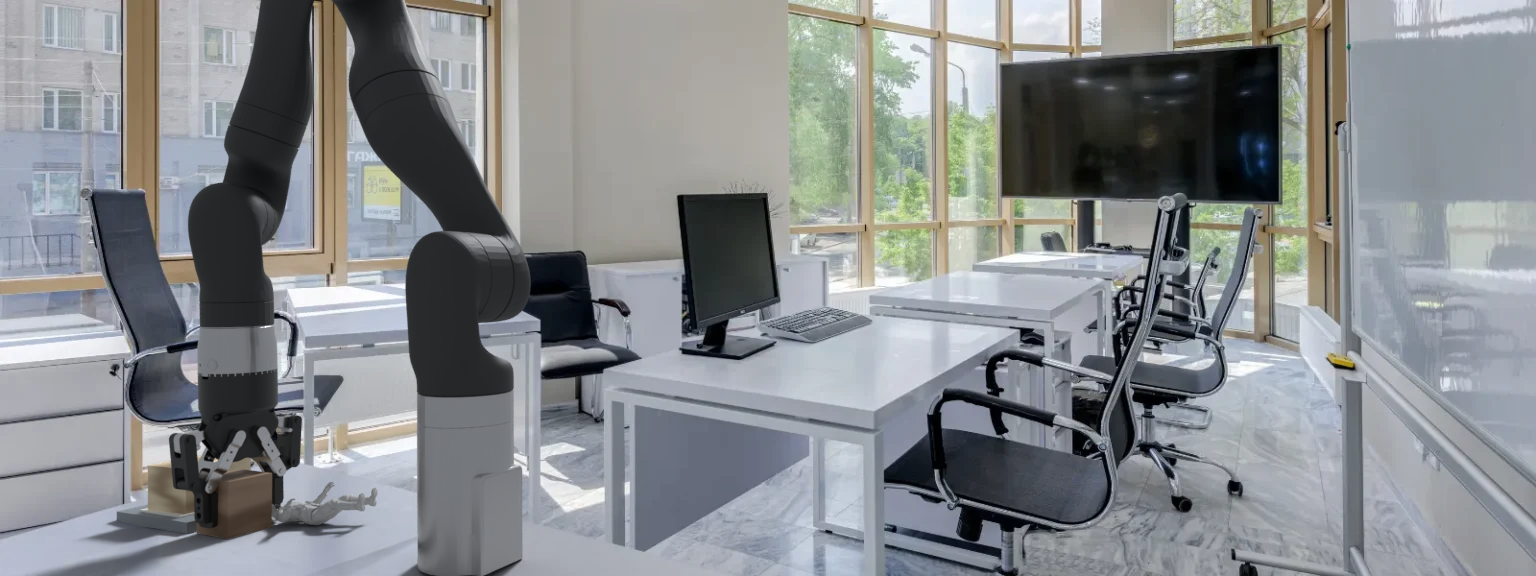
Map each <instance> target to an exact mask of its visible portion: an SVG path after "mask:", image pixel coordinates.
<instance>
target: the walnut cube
mask: <svg viewBox="0 0 1536 576" xmlns="http://www.w3.org/2000/svg"><path fill="white" fill-rule="evenodd" d="M214 492H218V525H217V526H216V527H213V528H204V527H201V526H200V525H199V523H197V531H196V534H198V535H204V536H209V537H215V538H219V539H221V538H222V539H226V540H229V539H234V538H239V537H241V536H244V535H248V534H251V533H252V534H253V533H255V532H259V531H263V530H268V529H271V528H272V527H273V526H272V523H273V522H272V473H268V472H262V471H261V470H260V471H257V470H252V469H251V470H244V469H240V470H234V471H229V472H226V473H224V474H223V476H222V478H221V480H219V484H218V486H217V488H216V490H215V491H214Z"/></svg>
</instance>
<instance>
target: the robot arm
mask: <svg viewBox="0 0 1536 576" xmlns="http://www.w3.org/2000/svg"><path fill="white" fill-rule="evenodd" d="M331 2H332V3H333V4H334V5H335V6H336V8H337V9H338V12H339V13H340V14H341V17H342V18H343V20H344V23H345V24H346V27H347V29H348V32H349V33H350V35H351V38H352V41H353V46H354V54H353V57H352V61H351V62H350V63H351V64H350V68H349V71H348V92H349V97H350V100H351V103H352V106H353V109H354V111H355V114H356V116H357V118H358V121H359V124H360V126H361V129H362V131H363V134H364V136H365V138H366V140H367V143H368V144H369V146H370V148H371V149H372V150H373V152H374V154H375V155H376V156H377V158H379V160H380V161H381V162H382V163H383V164H384V165H385V166H386V168H387V169H388V170H389V171H390V172H391V173H393V174H394V176H396V178H398V179H399V180H400V182H402V183H403V185H405V187H407V188H408V190H410V191H411V192H412V193H413V194H415V196H416V197H417V198H418V199H419V200H421V202H422V203H423V204H424V205H425V206H426V207H427V208H428V209H429V211H430V212H431V213H432V215H433V216H434V217H435V219H436V221H437V223H438V224H439V225H440V228H441V230H438V231H432V232H430V233H429V232H428V233H427V234H425V235H423V236H422V237H420V239H419V240H418V241H417V242H416V243H415V244H414V247H413V248H412V250H411V252H410V253H409V258H408V260H407V264H406V272H405V286H404V287H405V289H404V291H405V292H404V293H405V306H406V307H405V309H406V320H407V321H406V322H407V323H406V324H407V325H406V326H407V337H408V338H407V340H408V353H409V355H408V356H409V362H410V365H411V368H412V370H413V372H414V375H415V379H416V493H417V494H416V495H417V496H416V497H417V498H416V502H417V503H416V504H417V505H416V508H417V509H416V510H417V511H416V512H417V513H416V515H417V516H416V521H417V522H416V523H417V524H416V525H417V526H416V528H417V569H418V570H419V572H421V573H424V574H428V575H430V576H486V575H489V574H491V573H493V572H495V571H498V570H499V569H502V568H504V567H507V566H509V565H510V564H513V563H515V562H517V561H520V560H522V559H523V552H524V551H523V550H524V549H523V546H524V545H523V543H524V541H523V535H524V534H523V467H522V466H521V465H519V464H515V433H514V431H515V429H514V427H515V425H514V424H515V423H514V422H515V420H514V419H515V416H514V415H515V414H514V413H515V409H514V408H515V403H514V402H515V400H514V398H515V396H514V395H515V394H514V392H515V389H514V388H515V384H514V382H515V374H514V368H513V365H512V363H511V362H510V361H508V360H507V359H504V358H502V357H499V356H497V355H494V354H493V353H491V352H490V351H488V349H487V348H485V346H484V344H483V343H482V340H481V335H480V326H479V324H483V323H484V324H487V323H498V322H504V321H508V320H511V319H513V318H515V317H516V316H518V315H520V313H522V311H523V310H524V308H525V307H526V305H527V304H528V300H529V298H530V293H531V285H532V284H531V282H532V281H531V272H530V267H529V265H528V264H529V263H528V261H527V258H526V255H525V254H524V251H523V249H522V247H521V245H520V243H519V241H518V239H517V237H516V236H515V233H514V232H513V230H512V228H511V227H510V225H509V224H508V221H507V220H506V218H505V216H504V214H503V213H502V211H501V209H500V208H499V206H498V205H497V203H496V200H495V199H494V198H493V196H492V194H491V192H490V190H489V188H488V185H486V182H485V180H484V178H483V177H482V175H481V173H480V171H479V168H478V166H477V163H476V162H475V160H474V157H473V155H472V153H471V151H470V148H469V147H468V144H467V142H466V140H465V139H464V136H463V134H462V132H461V130H460V128H459V125H458V122H457V120H456V117H455V115H454V112H453V109H452V106H451V104H450V101H449V99H448V97H447V94H446V92H445V90H444V88H443V85H442V83H441V81H440V78H439V77H438V74H437V73H436V71H435V69H434V67H433V65H432V62H431V61H430V57H428V53H427V51H426V49H425V47H424V44H423V42H422V40H421V38H420V36H419V33H418V31H417V29H416V27H415V25H414V23H413V21H412V18H411V15H410V13H409V10H408V6H407V3H406V0H331ZM314 3H315V0H260V4H259V9H258V18H257V22H256V23H257V24H256V29H255V36H254V42H253V46H252V47H253V48H252V53H251V56H250V60H249V64H248V67H247V72H246V74H245V78H244V80H243V84H242V87H241V89H240V92H239V95H238V97H237V101H236V104H235V106H234V109H233V112H232V114H231V118H230V121H229V123H228V124H229V125H228V126H227V129H226V132H225V136H224V141H223V147H224V151H225V152H226V155H227V156H228V160H227V165H226V168H225V172H224V175H223V180H222V182H216V183H211V184H209V185H207V186H205V187H203V188H202V189H201V190H200V191H198V193H196V195H195V196H194V198H193V199H192V201H191V203H190V206H189V209H188V210H189V211H188V215H187V217H188V218H187V232H188V233H187V234H188V239H189V246H190V250H191V256H192V259H193V265H194V270H195V272H196V276H197V279H198V284H199V295H198V296H199V299H198V303H199V326H200V327H199V333H198V342H197V347H196V348H197V352H196V353H197V354H196V355H197V356H196V357H197V359H196V361H197V404H198V405H197V408H198V411H199V414H200V417H201V421H200V424H199V426H198V428H197V429H196V430H193V431H188V432H185V433H182V432H173V433H171V434H170V435H169V438H168V445H169V455H170V461H171V468H172V479H173V487H174V488H175V489H179V490H187V491H191V492H193V494H194V509H195V510H194V519H195V521H196V523H199V525H200V526H201V527H204V528H213V527H216V526H217V525H218V492H214V491H215V490H216V488H217V486H218V484H219V480H221V478H222V476H223V474H224V473H226V472H227V471H228V470H229V468H230V466H231V464H232V462H237V461H240V460H242V459H244V458H251V460H252V461H254V462H255V463H256V464H257V467H259V470H260V472H268V473H272V504H273V505H274V506H275V505H276V506H275V508H276V509H277V510H278V509H279V508H280V507H281V506H282V504H283V501H284V498H285V495H284V493H285V491H284V476H285V474H286V473H287V472H288V471H289V470H290V469H292V468H298V466H300V464H301V451H302V450H301V449H302V448H301V446H302V445H301V444H302V428H303V427H302V426H303V418H302V416H300V415H295V414H285V413H283V414H280V415H279V416H277V413H276V410H275V408H276V407H277V406H278V404H279V374H278V373H279V372H278V367H279V366H278V365H279V364H278V363H279V362H278V342H277V337H276V336H277V335H276V331H275V328H276V327H275V299H274V298H275V294H274V293H275V292H274V287H273V282H272V280H271V278H270V277H269V275H267V274H266V272H265V268H264V256H263V255H264V254H263V246H264V245H266V244H267V243H268V242H270V241H271V239H272V238H273V237H274V236H275V235H276V233H277V231H278V229H279V227H280V224H282V223H281V222H282V221H283V220H282V219H283V217H284V214H285V210H286V206H287V205H286V204H287V202H288V201H287V200H288V195H289V189H290V184H291V176H292V169H293V164H294V161H295V160H296V158H297V155H298V152H299V149H300V147H301V145H302V141H303V138H304V136H305V132H306V129H307V127H308V124H309V121H310V120H311V115H312V111H313V105H314V100H315V99H314V97H315V81H314V80H315V79H314V71H313V63H312V53H311V41H310V37H311V35H310V34H311V32H310V30H311V17H312V11H313V8H314V7H313V6H314ZM275 432H276V434H277V435H276V436H277V439H276V443H274V441H273V438H272V437H273V435H274V434H275ZM201 443H202V444H203V445H204V449H203V451H202V454H201V455H202V456H201V458H200V460H199V462H198V457H197V456H198V451H199V450H201V445H200V444H201ZM215 458H216V459H218V461H217V462H213V461H214V459H215ZM278 505H280V507H279V506H278Z"/></svg>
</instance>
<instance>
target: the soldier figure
mask: <svg viewBox="0 0 1536 576" xmlns="http://www.w3.org/2000/svg"><path fill="white" fill-rule="evenodd" d="M335 485H336V484H335V482H334V481H329V482H328V483H327V484H326V485H325V487H324V488H323V490H322V492H321V493H320V494H319V495H318V496H317V498H315V499H314V500H313V501H308V500H306V501H305V502H299V501H296V498H291V499H289V500H287V502H286V504H283V506H282V505H281V507H280V505H278V506H279V507H280V508H279V509H276V508H275V506H276V505H275V506H274V505H273V504H272V523H274V522H279V523H292V522H299V521H301V522H303V523H304V524H307V525H311V526H312V525H313V526H320V525H322V524H325V523H327V522H329V521H330V520H332V519H334V518H335V517H336V516H338V514H340V513H341V512H342V511H359V512H365V510H366V506H371V507H376V506H377V503H378V502H377V499H376V498H377V496H378V489H377V488H376V487H374V488H371V492H370V493H371V495H370V496H369V497H368V496H366V495H365V494H364V493H363V492H361V493H359V494H358V496H355V495H352V494H350V493H349V494H347V493H346V494H344V495H342V496H340V497H338V498H331V499H330V500H327V502H324V503H323V504H322V502H323V501H324V500H325V499H326V498H327V497H328V493H329V492H330V491H331V489H332V488H334V487H335ZM293 501H296V502H293Z"/></svg>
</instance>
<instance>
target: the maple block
mask: <svg viewBox="0 0 1536 576" xmlns="http://www.w3.org/2000/svg"><path fill="white" fill-rule="evenodd" d="M201 456H202V454H201V455H197V457H198V462H199V460H200V458H201ZM251 460H252V459H251V458H244V459H242V460H240V461H237V462H232V464H231V466H230V468H229V470H228V471H227V472H229V471H234V470H240V469H244V470H252V469H251V465H252V464H251V462H252V461H251ZM217 461H218V459H216V458H215V459H214V461H213V462H217ZM147 505H148V510H154V511H163V512H171V513H179V514H189V513H193V512H194V510H195V509H194V494H193V492H191V491H187V490H179V489H175V488H174V487H173V479H172V468H171V460H170V461H164V462H159V463H154V464H153V463H152V464H149V465H147Z"/></svg>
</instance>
